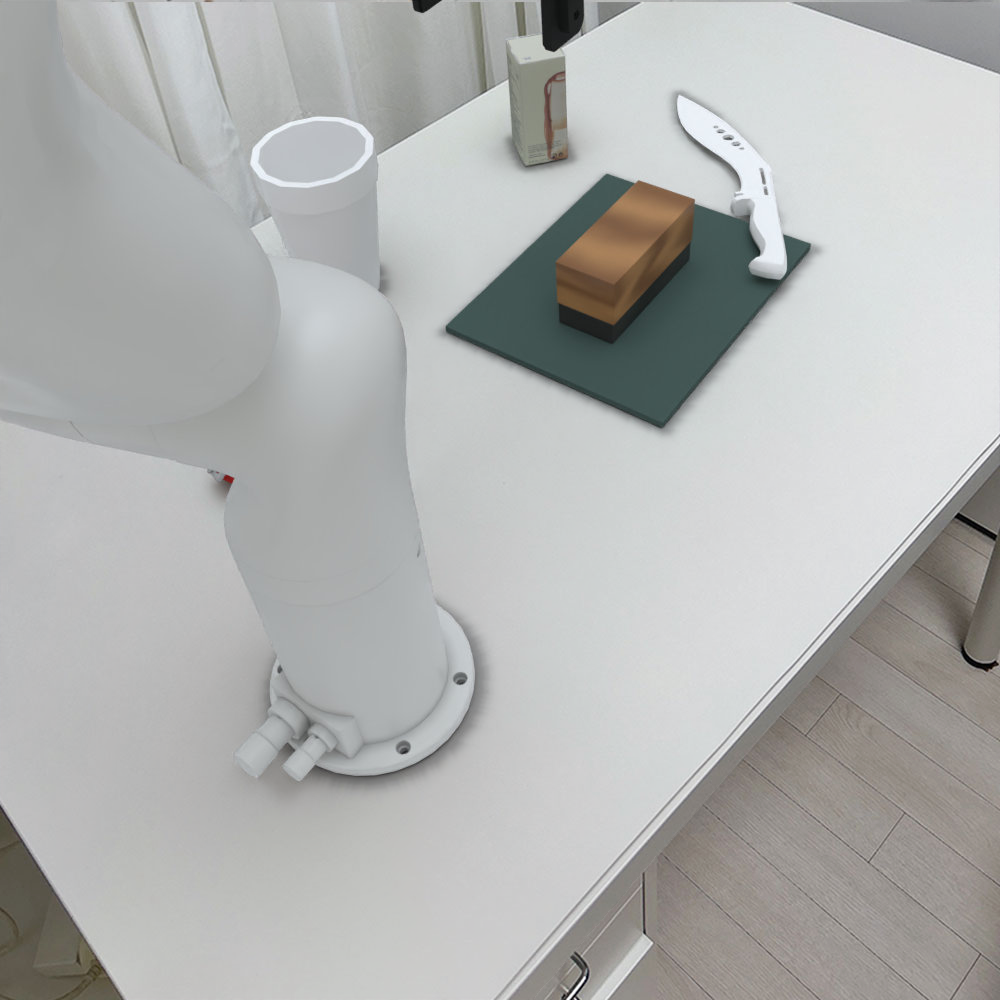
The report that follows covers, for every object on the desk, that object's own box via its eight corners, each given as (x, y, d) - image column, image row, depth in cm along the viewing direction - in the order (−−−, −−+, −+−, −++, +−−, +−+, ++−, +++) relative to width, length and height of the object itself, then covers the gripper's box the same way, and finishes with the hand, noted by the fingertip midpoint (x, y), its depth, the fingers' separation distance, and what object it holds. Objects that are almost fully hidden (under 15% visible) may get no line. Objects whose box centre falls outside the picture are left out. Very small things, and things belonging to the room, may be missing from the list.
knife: (676, 86, 108) (757, 84, 107) (675, 102, 109) (755, 100, 108) (690, 266, 87) (791, 265, 86) (689, 283, 88) (788, 282, 88)
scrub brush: (613, 345, 85) (614, 284, 81) (557, 322, 87) (555, 261, 83) (690, 260, 91) (695, 198, 87) (636, 240, 93) (638, 179, 89)
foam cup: (421, 274, 93) (399, 138, 83) (349, 337, 89) (317, 201, 79) (337, 238, 97) (307, 104, 87) (265, 297, 93) (224, 163, 83)
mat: (662, 428, 80) (662, 422, 80) (445, 331, 89) (445, 326, 88) (810, 249, 92) (811, 243, 91) (606, 178, 100) (606, 173, 100)
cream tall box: (570, 159, 103) (567, 56, 95) (524, 168, 102) (517, 66, 94) (555, 129, 106) (551, 28, 98) (511, 138, 105) (503, 37, 98)
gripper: (288, -315, 55) (348, 15, 69) (575, -273, 48) (581, 87, 61) (383, -357, 59) (423, -35, 72) (663, -324, 52) (651, 27, 65)
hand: (496, 21), depth 67 cm, fingers open, 9 cm apart
